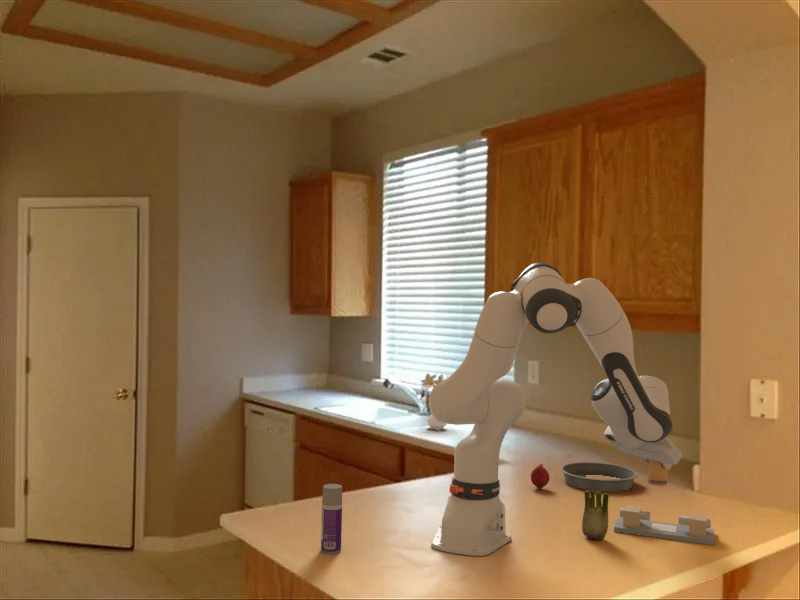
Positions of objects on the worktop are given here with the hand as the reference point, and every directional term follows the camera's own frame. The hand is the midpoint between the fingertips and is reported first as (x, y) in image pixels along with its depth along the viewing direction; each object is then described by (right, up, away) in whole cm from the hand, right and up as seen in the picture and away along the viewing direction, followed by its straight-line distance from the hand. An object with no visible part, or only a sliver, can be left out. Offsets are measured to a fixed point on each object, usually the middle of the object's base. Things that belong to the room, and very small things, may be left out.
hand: (659, 465), depth 192 cm
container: (-85, -15, -24) cm, 89 cm away
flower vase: (-51, -15, +140) cm, 149 cm away
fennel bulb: (-20, -16, -10) cm, 28 cm away
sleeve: (-1, -5, 0) cm, 5 cm away
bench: (0, -17, -4) cm, 17 cm away
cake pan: (-3, -17, +47) cm, 50 cm away
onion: (-25, -16, +37) cm, 47 cm away
